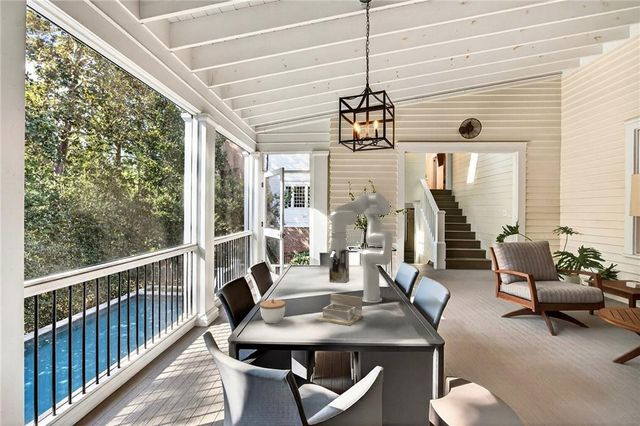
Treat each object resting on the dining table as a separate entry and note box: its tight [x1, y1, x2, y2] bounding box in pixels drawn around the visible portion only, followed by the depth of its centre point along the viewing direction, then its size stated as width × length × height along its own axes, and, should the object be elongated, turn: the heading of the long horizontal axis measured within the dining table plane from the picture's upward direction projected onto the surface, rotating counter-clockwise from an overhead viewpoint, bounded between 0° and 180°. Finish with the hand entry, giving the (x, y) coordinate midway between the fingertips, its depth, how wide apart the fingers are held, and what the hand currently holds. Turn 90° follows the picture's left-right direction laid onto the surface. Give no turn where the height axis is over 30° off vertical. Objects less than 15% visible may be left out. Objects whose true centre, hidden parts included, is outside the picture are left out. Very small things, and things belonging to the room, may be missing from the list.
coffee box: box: [328, 249, 350, 284], centre depth 183 cm, size 9×6×16 cm
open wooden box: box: [315, 293, 363, 327], centre depth 184 cm, size 16×18×10 cm
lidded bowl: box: [259, 298, 286, 324], centre depth 180 cm, size 13×13×11 cm
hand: (339, 270), depth 183 cm, fingers closed on coffee box, 7 cm apart
